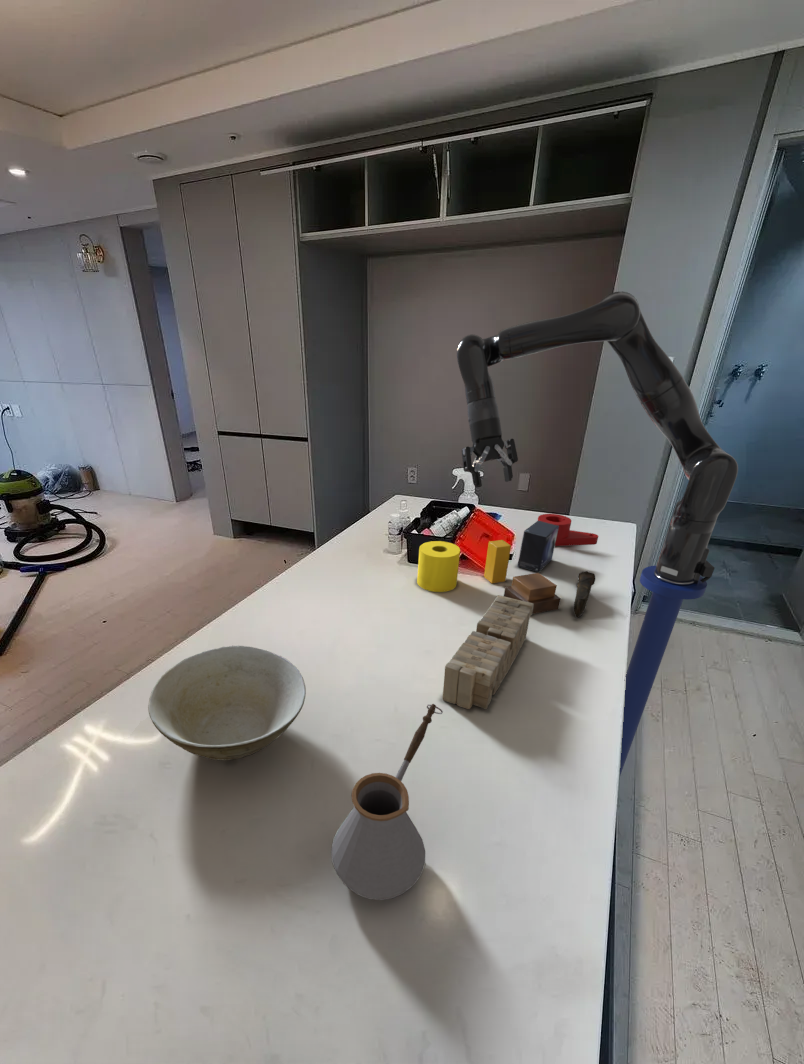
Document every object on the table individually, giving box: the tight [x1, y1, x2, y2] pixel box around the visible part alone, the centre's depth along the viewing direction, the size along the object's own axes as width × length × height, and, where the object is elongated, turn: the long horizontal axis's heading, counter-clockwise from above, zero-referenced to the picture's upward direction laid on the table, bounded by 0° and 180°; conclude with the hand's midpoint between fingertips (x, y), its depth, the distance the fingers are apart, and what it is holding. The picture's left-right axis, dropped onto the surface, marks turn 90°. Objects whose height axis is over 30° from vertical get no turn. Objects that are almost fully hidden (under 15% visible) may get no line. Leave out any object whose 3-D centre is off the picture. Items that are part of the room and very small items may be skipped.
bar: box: [483, 539, 512, 584], centre depth 130 cm, size 4×4×10 cm
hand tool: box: [573, 570, 596, 619], centre depth 121 cm, size 19×4×5 cm, turn 151°
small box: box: [516, 520, 559, 573], centre depth 138 cm, size 11×6×10 cm, turn 143°
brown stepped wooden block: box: [503, 572, 562, 615], centre depth 119 cm, size 9×9×6 cm
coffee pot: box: [330, 703, 444, 901], centre depth 63 cm, size 21×12×15 cm, turn 149°
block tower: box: [442, 595, 534, 710], centre depth 98 cm, size 8×8×29 cm
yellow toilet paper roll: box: [416, 540, 461, 593], centre depth 128 cm, size 10×10×9 cm
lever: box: [537, 513, 599, 547], centre depth 153 cm, size 18×9×7 cm, turn 80°
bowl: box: [147, 645, 307, 761], centre depth 81 cm, size 24×24×10 cm
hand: (493, 484), depth 131 cm, fingers open, 8 cm apart
